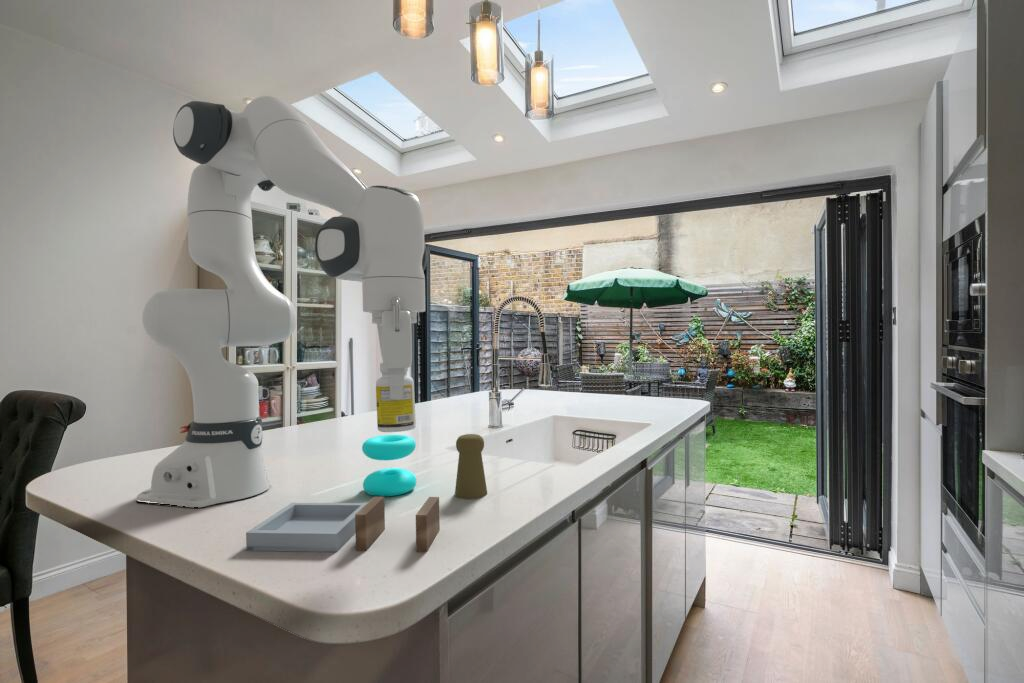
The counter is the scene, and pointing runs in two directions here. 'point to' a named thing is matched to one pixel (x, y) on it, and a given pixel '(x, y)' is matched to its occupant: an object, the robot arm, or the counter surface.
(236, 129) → the robot arm
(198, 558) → the counter surface
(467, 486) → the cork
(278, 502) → the counter surface
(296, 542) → the grey tray
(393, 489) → the donuts
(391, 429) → the supplement bottle
